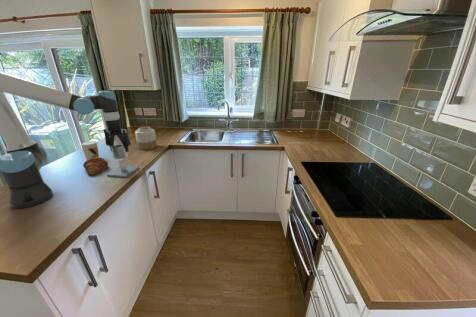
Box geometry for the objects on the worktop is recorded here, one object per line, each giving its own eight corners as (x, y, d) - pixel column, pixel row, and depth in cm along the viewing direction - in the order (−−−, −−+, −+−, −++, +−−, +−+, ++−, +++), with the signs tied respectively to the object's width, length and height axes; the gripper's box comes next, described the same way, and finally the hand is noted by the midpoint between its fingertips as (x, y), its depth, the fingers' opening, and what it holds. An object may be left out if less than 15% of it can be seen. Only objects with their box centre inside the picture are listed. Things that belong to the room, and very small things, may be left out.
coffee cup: (93, 161, 145) (88, 145, 141) (82, 160, 147) (77, 144, 143) (103, 156, 154) (99, 141, 150) (93, 155, 156) (88, 140, 151)
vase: (133, 149, 171) (129, 129, 165) (145, 143, 185) (142, 125, 179) (149, 150, 168) (146, 130, 162) (160, 145, 182) (157, 126, 175)
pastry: (116, 168, 136) (113, 157, 133) (91, 177, 124) (88, 165, 121) (102, 163, 144) (99, 152, 141) (77, 171, 131) (73, 159, 128)
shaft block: (126, 177, 123) (123, 165, 120) (107, 176, 124) (104, 164, 121) (139, 168, 136) (137, 156, 133) (122, 167, 137) (120, 155, 134)
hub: (122, 159, 122) (120, 148, 120) (112, 158, 123) (109, 147, 121) (129, 155, 129) (127, 144, 126) (119, 154, 130) (117, 143, 127)
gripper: (132, 118, 120) (139, 155, 128) (101, 117, 122) (110, 153, 131) (124, 121, 113) (132, 159, 121) (91, 120, 115) (101, 157, 124)
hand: (121, 156), depth 126 cm, fingers closed on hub, 7 cm apart
